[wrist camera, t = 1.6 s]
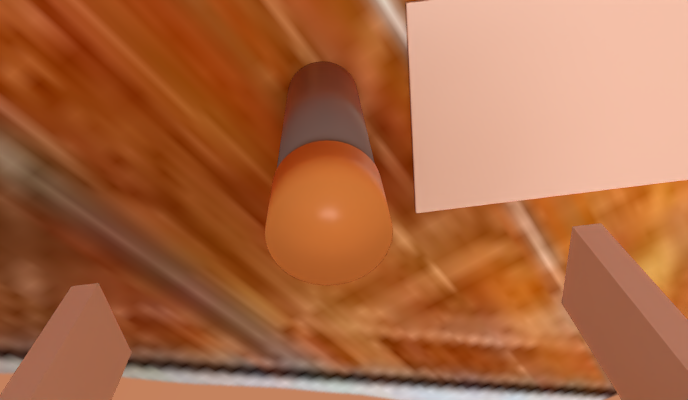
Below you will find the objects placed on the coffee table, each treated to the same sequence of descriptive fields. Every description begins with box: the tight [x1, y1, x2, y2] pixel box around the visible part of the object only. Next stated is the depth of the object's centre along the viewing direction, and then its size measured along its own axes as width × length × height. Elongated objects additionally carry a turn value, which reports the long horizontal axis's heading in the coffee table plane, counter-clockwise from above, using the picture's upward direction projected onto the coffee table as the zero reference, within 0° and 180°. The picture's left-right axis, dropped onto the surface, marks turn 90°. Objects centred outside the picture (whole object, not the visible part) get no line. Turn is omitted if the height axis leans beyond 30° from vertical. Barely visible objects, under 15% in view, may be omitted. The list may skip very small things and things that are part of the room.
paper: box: [406, 0, 688, 213], centre depth 29 cm, size 18×13×1 cm
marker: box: [265, 62, 393, 285], centre depth 22 cm, size 4×4×14 cm
